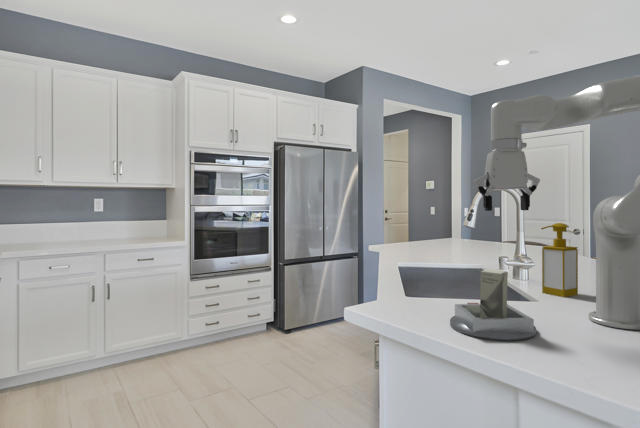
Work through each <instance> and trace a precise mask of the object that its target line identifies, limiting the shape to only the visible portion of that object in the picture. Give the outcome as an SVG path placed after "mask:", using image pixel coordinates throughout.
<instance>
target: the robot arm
mask: <svg viewBox="0 0 640 428" xmlns="http://www.w3.org/2000/svg"><path fill="white" fill-rule="evenodd" d="M634 112H640V74H638V75H632V76H627V77H623V78H618V79H613V80H608V81H602V82H600V83H597V84H596V83H595V84H594V85H591V86H590V87H589V86H588V88H585V89H584V90H581V91H580V92H578V93H574V94H573V95H568V96H567V97H563V98H560V99H556V100H555V98H553V97H552V96H551V95H547V94H537V95H532V96H528V97H523V98H519V99H505V100H499V101H496V102H494V103H493V104H492V106H491V108H490V152H488V153H487V155H486V156H487V157H486V161H485V169H484V174H483V175H481V176H480V177H478V178H476V179H474V180H473V182H472V183H473V184H474V186H475V188H476V191H478V193H479V194H480V195H481V196H482V197H483V205H482V206H483V209H484V211H485V212H490V211H492V210H493V196H492V195H491V194H492V193H493V192H494V190H518V191H519V192H520V193H521V195H520V200H519V201H520V210H521V211H530V210H529V208H530V205H531V196H532V195H533V193H534V192H535V191H536V190H537V187H538V185H539V184H540V182H541V179H540V178H538V177H537V176H535V175H532V174H530V173H529V172H528V164H527V158H526V154H525V151H523V149H526V148H527V145H528V144H527V142H523V136H522V135H523V134H522V133H523V132H522V130H523V129H526V130H529V131H534V132H536V131H542V130H548V129H553V128H560V127H561V128H562V127H564V126H568V125H569V126H570V125H574V124H578V123H582V122H583V123H584V122H588V121H593V120H597V119H600V118H606V117H611V116H616V115H623V114H629V113H634ZM522 127H523V128H522ZM529 181H530V182H531V184H530V186H528V183H529ZM482 182H484V187H483V185H482V184H481V183H482ZM592 220H593V230H594V237H595V310H594V311H591V312H589V313H588V319H589V320H590V321H592V322H594V323H595V324H596V323H597V324H598V325H602V326H607V327H611V328H616V329H623V330H632V331H633V330H634V331H636V330H637V331H640V174H639V175H637V177H636V179H635V181H634V185H633V189H631V190H630V191H629V192H628V193H626V194H624V195H615V196H614V195H613V196H610V197H609V196H608V197H607V198H605V199H603V200H601V201H600V202H598V204H597V206H596V207H595V209H594V211H593V216H592Z"/></svg>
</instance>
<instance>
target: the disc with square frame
mask: <svg viewBox="0 0 640 428" xmlns="http://www.w3.org/2000/svg"><path fill="white" fill-rule="evenodd" d="M534 323H535V322H534V318H532V317H530V316H529V315H526V314H525V313H523V312H522V311H520V310H518V309H516V308H514V307H513V306H511V305H510V304H508V303H507V318H480V303H479V302H466V303H464V304H463V303H460V304H459V303H458V304H457V303H455V304H454V316H451V317H450V319H449V326H450V327H451V329H453V330H454V331H456V332H458V333H460V334H463V335H466V336H469V337H473V338H475V339H476V338H477V339H481V340H486V341H496V342H521V341H526V340H530V339H533V338H534V337H536V335H537V327H536V326H535V325H534Z"/></svg>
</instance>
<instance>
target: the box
mask: <svg viewBox="0 0 640 428" xmlns="http://www.w3.org/2000/svg"><path fill="white" fill-rule="evenodd" d="M508 276H509V271H506V270H499V269H491V268H490V269H489V268H486V269H483V270H481V271H480V292H479V294H480V296H479V297H480V298H479V299H480V303H479V304H480V318H507V304H508V278H509V277H508Z"/></svg>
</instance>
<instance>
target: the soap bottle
mask: <svg viewBox="0 0 640 428" xmlns="http://www.w3.org/2000/svg"><path fill="white" fill-rule="evenodd" d="M548 228H552V232H556V238H553V239H552V241H553V243H552V244H553V245H544V246H543V245H542V248H541V255H542V257H541V267H542V268H541V269H542V270H541V271H542V273H541V274H542V275H541V277H542V278H541V280H542V282H541V285H542V287H541V288H542V291H541V292H542V294H546V295H551V296H555V297H556V296H557V297H561V298H569V297H573V296H578V295H579V293H578V292H579V291H578V290H579V284H578V282H579V280H578V279H579V277H578V276H579V275H578V274H579V272H578V271H579V270H578V269H579V267H578V266H579V264H578V262H579V258H578V255H579V254H578V253H579V252H578V251H579V250H578V248H579V247H577V246H567V239H566V238H563V233H564V232H567V228H570V226H569V225H568V224H565V223H562V222H556V223H554V224H552V225H546V226H543V227H541V230H544V229H548Z"/></svg>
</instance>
